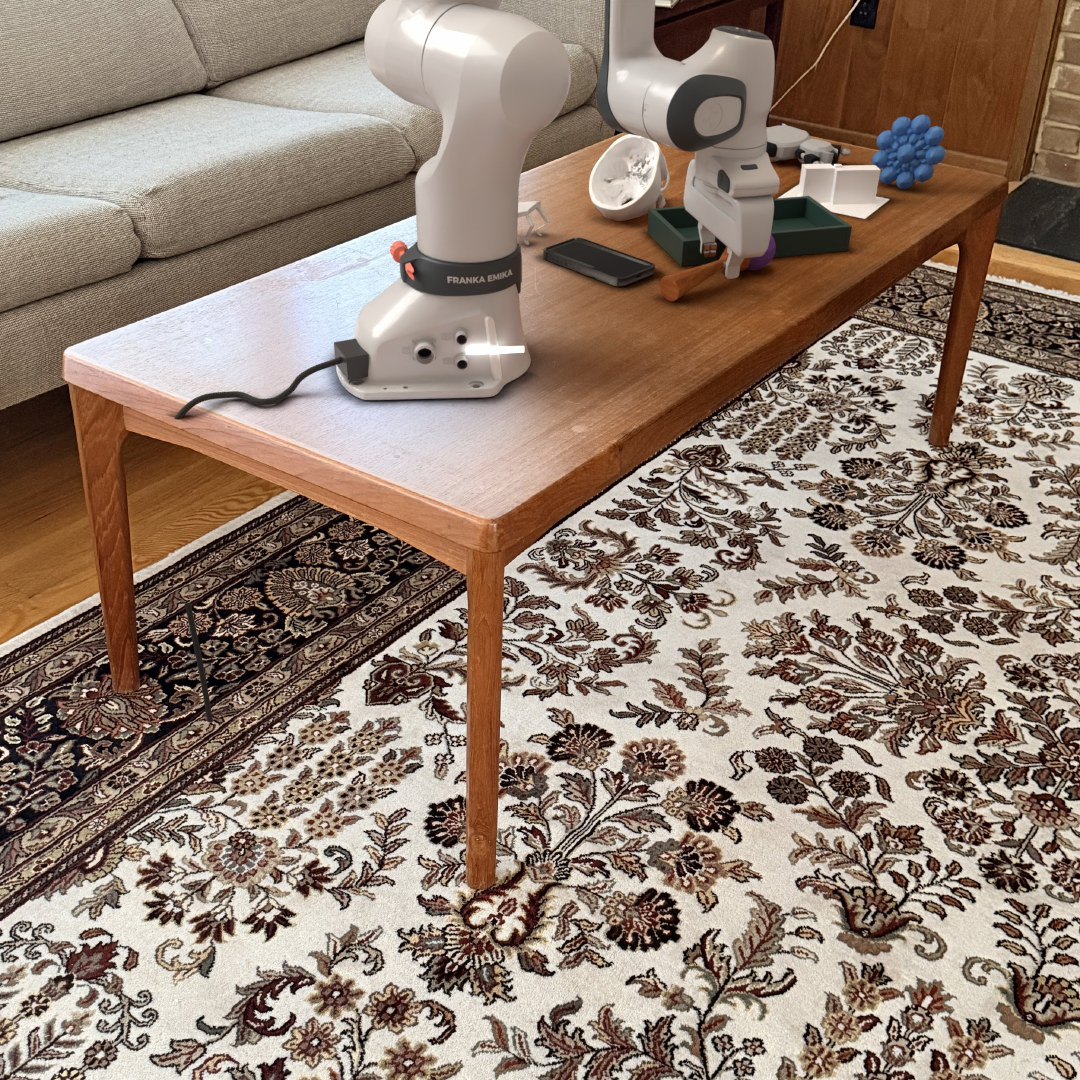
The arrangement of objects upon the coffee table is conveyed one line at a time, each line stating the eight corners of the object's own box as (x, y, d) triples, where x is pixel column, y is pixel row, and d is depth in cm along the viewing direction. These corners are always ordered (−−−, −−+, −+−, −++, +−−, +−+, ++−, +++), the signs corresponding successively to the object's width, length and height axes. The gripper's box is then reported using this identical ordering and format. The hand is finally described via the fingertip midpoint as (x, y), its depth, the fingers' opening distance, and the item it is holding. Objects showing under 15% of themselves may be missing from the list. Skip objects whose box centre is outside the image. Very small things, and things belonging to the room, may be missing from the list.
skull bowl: (692, 192, 191) (677, 134, 180) (650, 261, 187) (632, 206, 176) (634, 178, 195) (616, 122, 185) (592, 245, 192) (571, 191, 181)
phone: (578, 236, 175) (658, 265, 166) (577, 244, 175) (658, 272, 166) (539, 249, 170) (619, 280, 161) (538, 257, 170) (619, 288, 162)
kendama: (649, 264, 159) (748, 218, 169) (655, 307, 162) (751, 260, 172) (683, 269, 155) (782, 221, 165) (688, 314, 157) (785, 264, 168)
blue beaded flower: (946, 189, 199) (962, 114, 192) (930, 200, 194) (946, 123, 187) (878, 175, 204) (891, 101, 198) (862, 185, 200) (874, 110, 193)
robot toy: (851, 168, 210) (776, 144, 217) (857, 141, 207) (781, 118, 214) (816, 185, 202) (739, 159, 209) (822, 158, 199) (744, 133, 206)
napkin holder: (890, 198, 194) (896, 162, 191) (865, 219, 186) (872, 181, 183) (801, 181, 201) (806, 146, 198) (774, 200, 193) (778, 164, 190)
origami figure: (504, 224, 182) (504, 191, 179) (552, 235, 178) (552, 202, 175) (457, 248, 173) (456, 214, 171) (507, 261, 170) (507, 226, 167)
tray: (681, 266, 169) (683, 241, 167) (647, 232, 180) (648, 208, 178) (848, 250, 175) (852, 226, 173) (805, 219, 186) (809, 195, 184)
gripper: (676, 140, 163) (668, 240, 171) (738, 188, 147) (727, 297, 155) (720, 137, 165) (710, 237, 173) (786, 185, 149) (772, 292, 156)
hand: (718, 265), depth 164 cm, fingers closed on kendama, 6 cm apart
